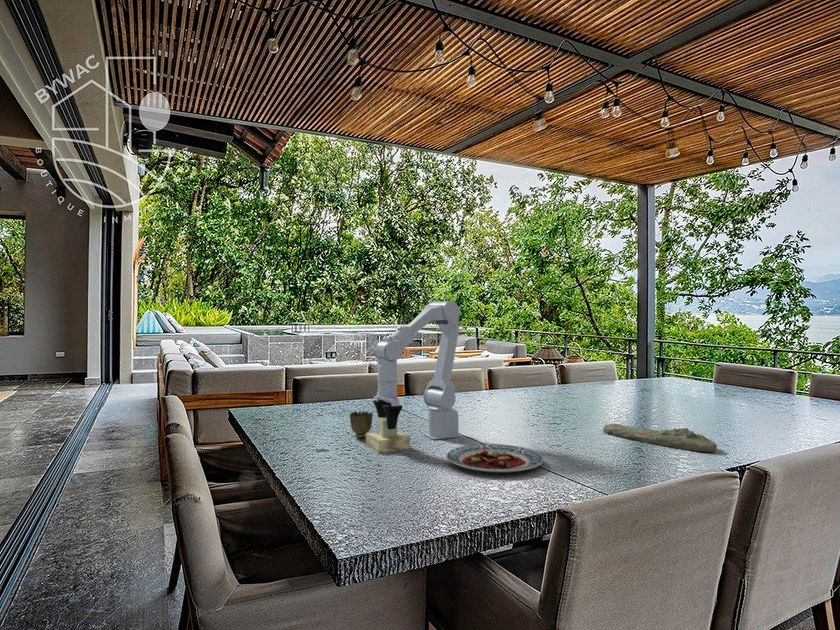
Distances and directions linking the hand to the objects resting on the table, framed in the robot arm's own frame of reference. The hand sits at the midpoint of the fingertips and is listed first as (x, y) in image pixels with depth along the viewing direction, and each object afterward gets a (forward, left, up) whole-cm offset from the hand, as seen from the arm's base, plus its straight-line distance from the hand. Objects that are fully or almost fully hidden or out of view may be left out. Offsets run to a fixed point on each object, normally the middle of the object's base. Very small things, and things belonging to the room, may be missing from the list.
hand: (387, 426), depth 159 cm
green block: (0, 0, -3) cm, 3 cm away
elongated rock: (-80, +26, -7) cm, 84 cm away
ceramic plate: (-21, +27, -7) cm, 35 cm away
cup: (+4, -14, -6) cm, 16 cm away
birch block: (0, 0, -7) cm, 7 cm away
